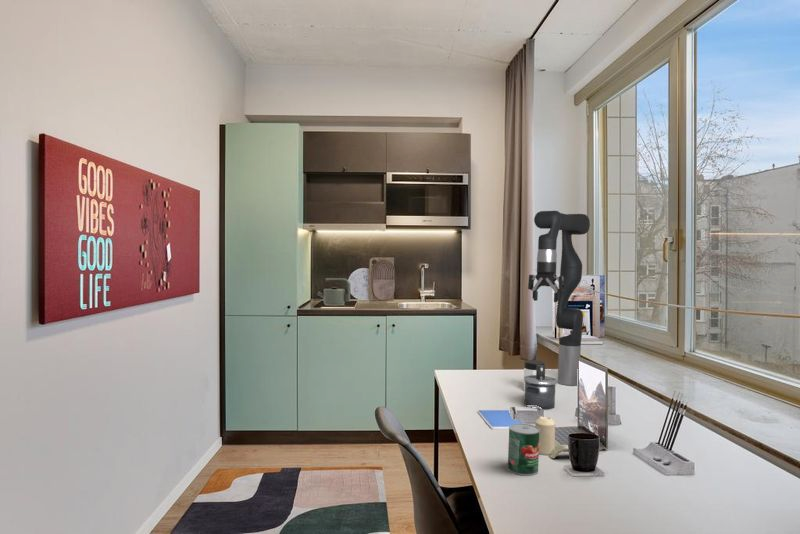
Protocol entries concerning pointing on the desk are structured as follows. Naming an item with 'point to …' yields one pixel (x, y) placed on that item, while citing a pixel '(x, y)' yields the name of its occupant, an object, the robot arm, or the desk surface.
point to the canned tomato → (523, 449)
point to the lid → (540, 377)
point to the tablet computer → (498, 418)
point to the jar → (531, 368)
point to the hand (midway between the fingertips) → (545, 301)
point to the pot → (540, 395)
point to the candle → (546, 434)
